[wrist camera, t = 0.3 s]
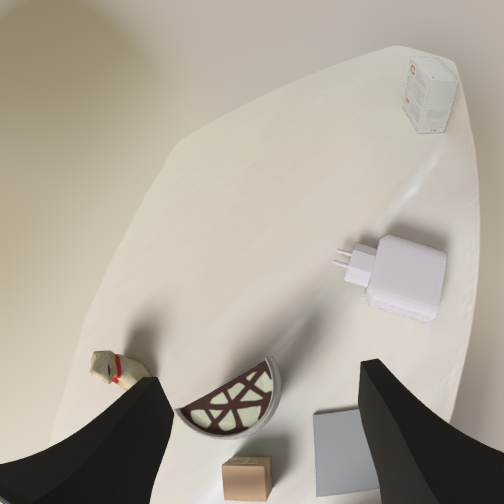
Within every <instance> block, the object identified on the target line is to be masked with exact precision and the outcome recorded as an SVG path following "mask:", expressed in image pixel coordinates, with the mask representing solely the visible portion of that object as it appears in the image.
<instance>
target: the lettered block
mask: <svg viewBox="0 0 504 504" xmlns="http://www.w3.org/2000/svg"><path fill="white" fill-rule="evenodd" d="M222 476H223V488H224V500H235V501H267V499H268V497H269V494H270V492H271V490H272V473H271V456H268V457H235V456H233V457H232V458H230V459H229V460H228V461H227V462H225V463H224V464H223V465H222Z"/></svg>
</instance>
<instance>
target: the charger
mask: <svg viewBox="0 0 504 504" xmlns="http://www.w3.org/2000/svg"><path fill="white" fill-rule="evenodd" d="M336 252H337V253H341V254H344V255H347V256H351V258H350V261H349V264H346V263H342V262H339V261H336V260H334V261H333V264H335V265H339V266H342V267H345V268H347V271H346V275H345V278H344V281H348V282H351V283H354V284H357V285H361V286H364V287H366V289H365V293H364V298H365V300H366V302H367V304H368V305H369V306H373V307H376V308H379V309H382V310H386V311H389V312H392V313H395V314H399V315H402V316H405V317H409V318H412V319H415V320H419V321H422V322H425V323H427V322H429V321H430V320H432V319H434V318H435V316H436V314H437V311H438V308H439V303H440V298H441V293H442V287H443V281H444V275H445V268H446V261H447V253H446V252H444V251H441V250H438V249H435V248H432V247H429V246H426V245H423V244H420V243H416V242H413V241H410V240H407V239H404V238H400V237H397V236H394V235H391V234H388V235H386V236H384V237H382V238H380V241H379V244H378V246H377V248H374V247H370V246H367V245H364V244H360V243H357V242H355V245H354V248H353V251H352V253H351V252H347V251H344V250H340V249H337V251H336Z"/></svg>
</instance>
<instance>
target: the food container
mask: <svg viewBox="0 0 504 504" xmlns="http://www.w3.org/2000/svg"><path fill="white" fill-rule="evenodd" d="M265 360H266V361H264V362H262V363H260V364H258V365H257V366H256V367H254V368H253V369H251V370H249V371H248V372H246V373H244V374H242V375H241V376H239V377H237V378H236V379H234V380H232V381H230V382H228V383H227V384H225V385H223V386H221V387H219V388H218V389H216V390H214V391H213V392H211V393H209V394H207V395H205V396H204V397H202V398H200V399H198V400H196V401H194V402H192V403H191V404H189V405H187V406H185V407H183V408H178V409H174V410H175V412H176V413H177V415H178V416H179V417H180V419H181V420H182V421H183V422H184V423H185V424H186V425H187V426H189V427H190V428H191V429H192V430H194V431H196V432H197V433H199V434H201V435H204V436H206V437H210V438H214V439H224V440H231V439H239V438H243V437H246V436H249V435H251V434H253V433H255V432H256V431H258V430H260V429H261V428H262V427H263V426H264V425H265V424H267V423H268V421H269V420H270V419H271V417H272V416H273V414H274V413H275V411H276V409H277V407H278V404H279V401H280V396H281V377H280V372H279V369H278V366H277V363H276V361H275V360H274V358H273V356H270V357H267V358H265Z"/></svg>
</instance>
